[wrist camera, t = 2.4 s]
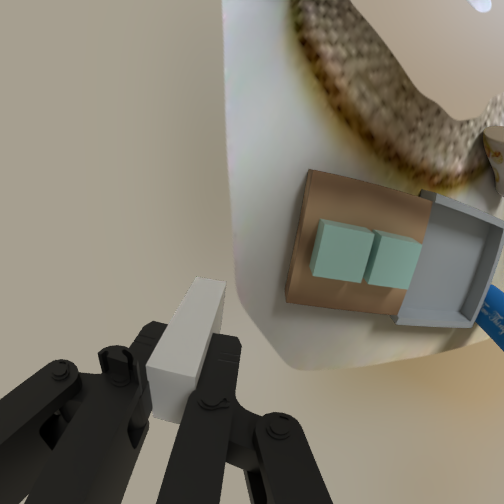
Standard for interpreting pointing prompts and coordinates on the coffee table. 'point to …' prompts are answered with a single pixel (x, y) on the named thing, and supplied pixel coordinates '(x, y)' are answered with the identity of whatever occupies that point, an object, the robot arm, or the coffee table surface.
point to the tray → (452, 265)
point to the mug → (495, 153)
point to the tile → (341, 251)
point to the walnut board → (360, 214)
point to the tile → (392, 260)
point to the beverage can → (493, 315)
